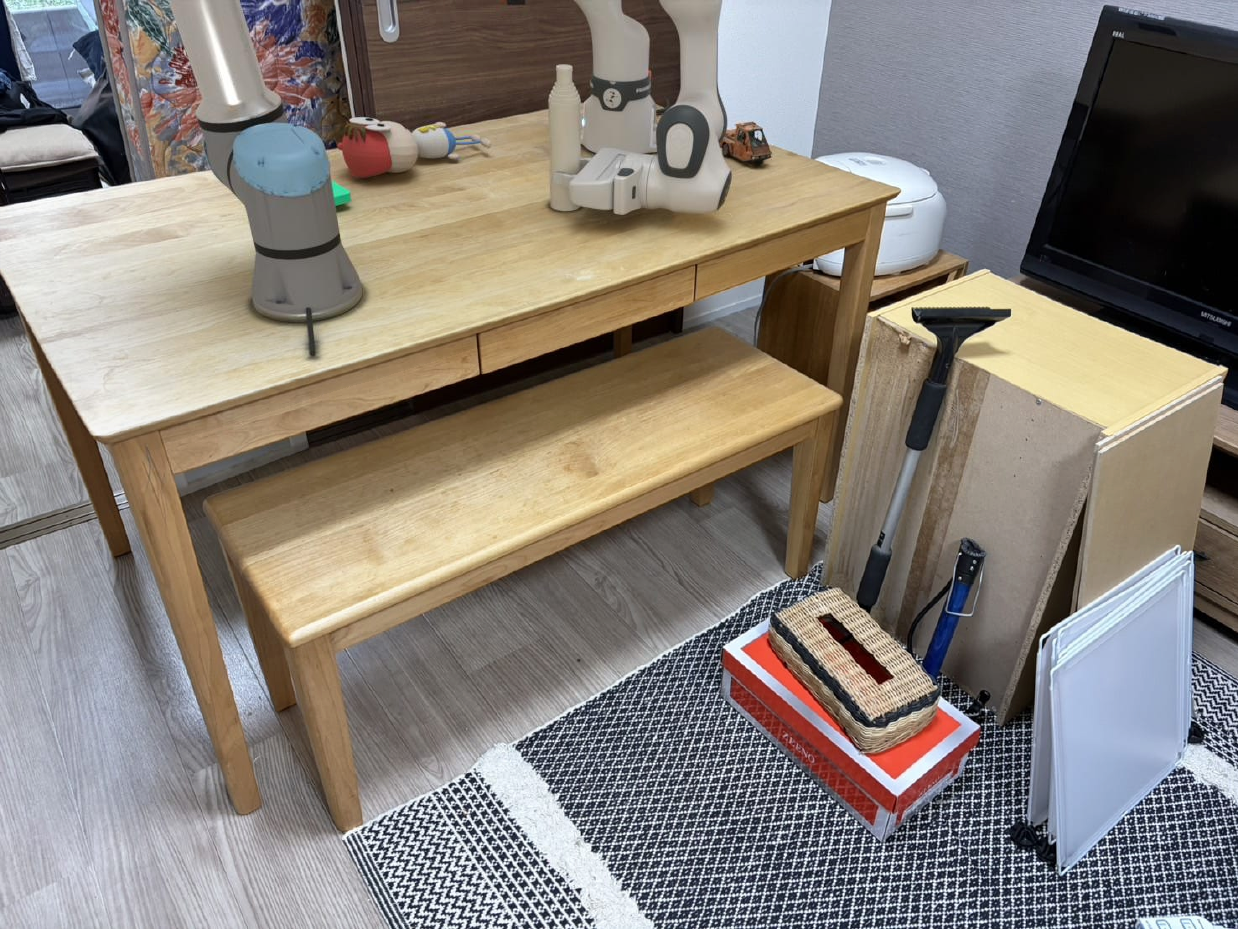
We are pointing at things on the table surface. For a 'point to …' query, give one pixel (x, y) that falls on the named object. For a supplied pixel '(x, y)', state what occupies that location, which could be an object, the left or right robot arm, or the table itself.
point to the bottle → (564, 135)
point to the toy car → (746, 144)
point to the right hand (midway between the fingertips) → (560, 170)
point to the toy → (395, 145)
